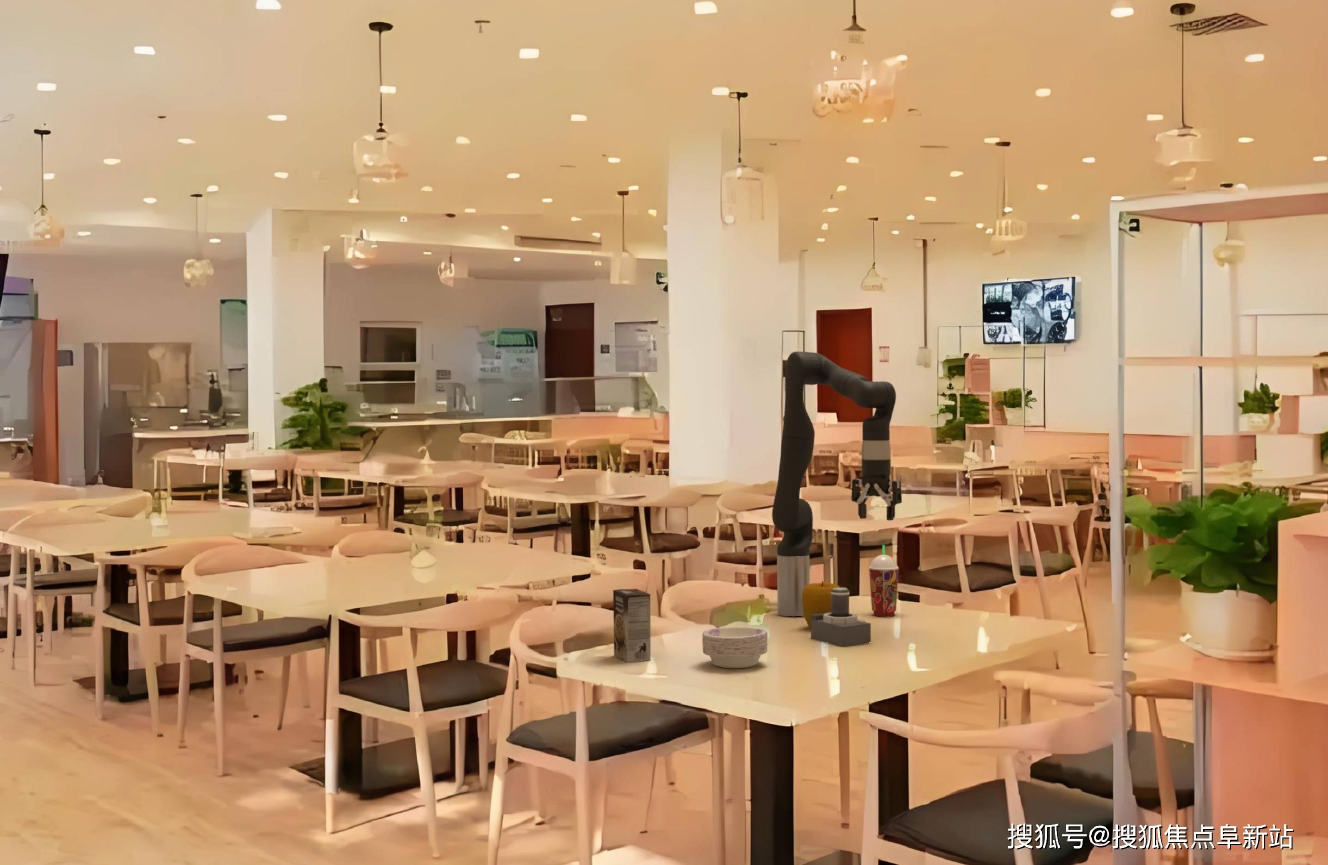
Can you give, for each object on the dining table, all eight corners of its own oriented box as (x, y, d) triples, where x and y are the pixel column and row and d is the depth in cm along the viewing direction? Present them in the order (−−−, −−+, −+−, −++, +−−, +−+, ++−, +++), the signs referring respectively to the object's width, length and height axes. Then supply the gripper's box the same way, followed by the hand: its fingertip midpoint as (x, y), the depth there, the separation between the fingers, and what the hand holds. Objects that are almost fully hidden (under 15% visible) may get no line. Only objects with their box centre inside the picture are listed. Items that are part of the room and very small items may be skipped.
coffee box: (612, 655, 308) (612, 589, 307) (637, 653, 310) (636, 587, 310) (626, 662, 299) (625, 594, 299) (651, 660, 302) (651, 593, 302)
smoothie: (901, 617, 357) (900, 546, 356) (871, 617, 357) (871, 547, 356) (896, 612, 365) (895, 543, 365) (867, 612, 365) (866, 543, 365)
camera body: (810, 638, 327) (810, 613, 327) (838, 634, 332) (838, 609, 332) (842, 646, 316) (842, 620, 316) (870, 642, 321) (870, 617, 320)
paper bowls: (702, 658, 304) (702, 625, 304) (766, 658, 304) (765, 625, 303) (702, 672, 289) (702, 637, 289) (769, 671, 288) (769, 637, 288)
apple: (823, 634, 333) (822, 585, 333) (793, 628, 341) (792, 581, 341) (850, 628, 340) (850, 581, 340) (820, 623, 349) (820, 577, 348)
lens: (837, 619, 327) (837, 586, 327) (852, 621, 324) (852, 588, 324) (827, 621, 324) (827, 588, 323) (842, 623, 320) (842, 590, 320)
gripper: (907, 457, 330) (907, 520, 330) (862, 456, 340) (862, 516, 340) (890, 459, 324) (891, 522, 325) (845, 457, 334) (845, 518, 335)
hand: (876, 519), depth 332 cm, fingers open, 8 cm apart
